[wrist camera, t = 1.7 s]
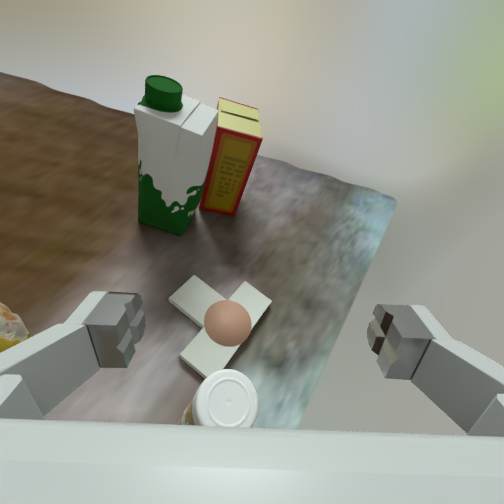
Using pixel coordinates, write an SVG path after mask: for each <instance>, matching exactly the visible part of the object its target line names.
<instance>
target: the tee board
mask: <svg viewBox="0 0 504 504" xmlns="http://www.w3.org/2000/svg"><path fill="white" fill-rule="evenodd" d="M168 301H169V302H170V303H171V304H173V305H174V306H175V307H176V308H177V309H179V310H180V311H181V312H182V313H184V314H185V315H186V316H187V317H189V318H190V319H191V320H192V321H193V322H195V323H196V324H197V325H198V326H200V327H201V328H202V330H201V331H200V332H199V333H198V334H197V335H196V336H195V338H194V339H193V340H192V341H191V342H190V343H189V344H188V346H187V347H186V348H185V349H184V350H183V351H182V352H181V353H180V355H179V357H180V358H181V359H182V360H183V361H184V362H186V363H187V364H188V365H189V366H190V367H191V368H193V369H194V370H195V371H196V372H197V373H198V374H200V375H201V376H202V377H203V378H204V379H206V378H207V377H208V376H209V375H211V374H212V373H214V372H216V371H218V370H223V368H224V367H225V365H226V364H227V363H228V361H229V360H230V358H231V357H232V356H233V354H234V353H235V352H236V350H237V349H238V347H239V346H240V345H241V343H242V342H244V341H245V340H246V339H247V338H248V336H249V334H250V332H251V329H252V328H253V327H254V325H255V324H256V322H257V321H258V320H259V318H260V317H261V315H262V314H263V313H264V311H265V310H266V308H267V307H268V306H269V304H270V303H271V302H272V301H271V300H270V299H268V298H267V297H266V296H264V295H263V294H262V293H260V292H259V291H258V290H256V289H255V288H254V287H252V286H251V285H250V284H248V283H247V282H246V281H244V282H243V283H242V284H241V286H240V287H239V288H238V289H237V290H236V291H235V292H234V294H233V295H232V296H231V297H230V298H229V299H228V300H226V299H225V298H224V297H222V296H221V295H220V294H219V293H217V292H216V291H215V290H213V289H212V288H211V287H210V286H208V285H207V284H206V283H204V282H203V281H202V280H201V279H199V278H198V277H197V276H195V275H193V276H192V277H191V278H190V279H189V280H188V281H187V282H186V283H185V284H183V285H182V286H181V287H180V288H179V289H178V290H177V291H176V292H175V293H173V294H172V295H171V296H170V297H169V300H168Z"/></svg>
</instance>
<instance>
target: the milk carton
mask: <svg viewBox="0 0 504 504" xmlns="http://www.w3.org/2000/svg"><path fill="white" fill-rule="evenodd" d="M182 90H183V89H182V86H181V85H180V84H179V83H178V82H177V81H175V80H173V79H171V78H168V77H165V76H160V75H151V76H148V77H147V78H146V80H145V95H144V96H143V99H142V101H141V102H139V103H138V106H136V107H135V108H134V113H135V119H136V124H137V130H138V178H139V190H138V221H139V222H142V223H145V224H148V225H151V226H153V227H156V228H159V229H162V230H165V231H168V232H171V233H174V234H176V235H179V236H182V235H183V233H184V231H185V229H186V227H187V225H188V223H189V222H190V220H191V218H192V216H193V214H194V212H195V210H196V208H197V206H198V204H199V202H200V200H201V197H202V193H203V189H204V185H205V180H206V176H207V171H208V167H209V162H210V158H211V154H212V149H213V143H214V137H215V131H216V124H217V118H218V113H219V110H216V109H214V108H212V107H209V106H207V105H204V104H202V103H200V101H198V100H196V99H193V98H189V97H187V96H184V95H182Z"/></svg>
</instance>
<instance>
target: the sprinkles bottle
mask: <svg viewBox="0 0 504 504" xmlns="http://www.w3.org/2000/svg"><path fill="white" fill-rule="evenodd" d="M257 414H258V396H257V392H256V390H255V388H254V386H253V384H252V382H251V381H250V380H249V379H248V378H247V377H246V376H245V375H244V374H242V373H240V372H238V371H236V370H231V369H223V370H218V371H216V372H214V373H212V374H211V375H209V376H208V377H207V378H206V379H205V380H204V381H203V382H202V384H201V385H200V387H199V388H198V390H197V392H196V394H195V396H194V398H193V399H192V401H191V402H190V403H189V405H188V406H187V408H186V409H185V410H184V411H183V413H182V414H181V416H180V418H179V420H178V424H177V425H195V426H222V427H248V428H252V427H253V425H254V423H255V421H256V418H257Z"/></svg>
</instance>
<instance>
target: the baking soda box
mask: <svg viewBox="0 0 504 504" xmlns="http://www.w3.org/2000/svg"><path fill="white" fill-rule="evenodd" d="M217 110H219V113H218V118H217V124H216V131H215V137H214V143H213V149H212V154H211V158H210V162H209V167H208V171H207V176H206V180H205V185H204V189H203V193H202V197H201V200H200V205H199V209H200V210H205V211H211V212H216V213H221V214H226V215H231V216H235V213H236V211H237V208H238V205H239V202H240V200H241V197H242V194H243V192H244V189H245V186H246V183H247V181H248V178H249V175H250V172H251V170H252V167H253V164H254V161H255V159H256V156H257V153H258V150H259V148H260V145H261V142H262V132H261V125H260V118H259V111H258V109H256V108H253V107H249V106H247V105H243V104H240V103H237V102H234V101H230V100H227V99H224V98H221V97H219V101H218V105H217Z"/></svg>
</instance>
